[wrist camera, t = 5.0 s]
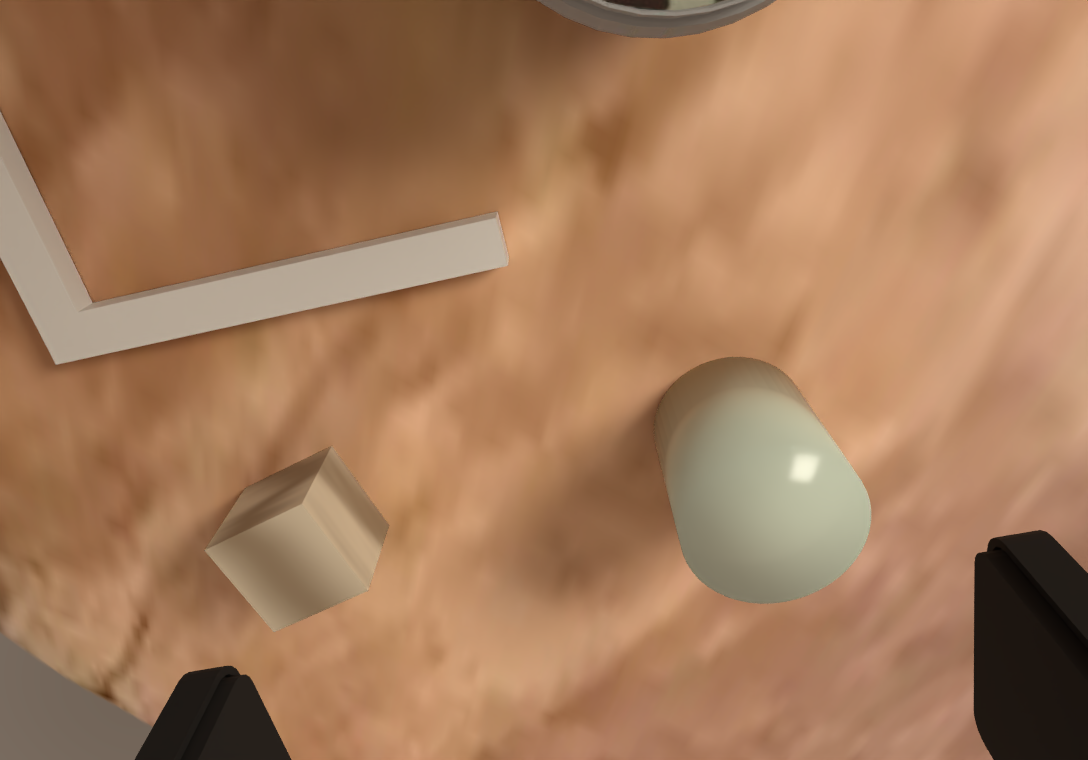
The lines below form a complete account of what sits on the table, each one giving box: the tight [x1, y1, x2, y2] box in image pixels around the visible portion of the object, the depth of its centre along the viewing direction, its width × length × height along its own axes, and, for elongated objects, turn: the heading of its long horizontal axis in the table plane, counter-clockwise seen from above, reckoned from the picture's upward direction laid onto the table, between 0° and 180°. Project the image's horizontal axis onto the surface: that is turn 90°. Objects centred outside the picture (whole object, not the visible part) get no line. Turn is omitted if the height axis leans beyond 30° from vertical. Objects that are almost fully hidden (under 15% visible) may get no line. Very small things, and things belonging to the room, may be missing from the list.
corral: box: [0, 112, 509, 365], centre depth 29 cm, size 20×24×1 cm
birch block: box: [204, 446, 389, 632], centre depth 36 cm, size 5×5×5 cm
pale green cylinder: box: [654, 357, 871, 604], centre depth 33 cm, size 7×7×8 cm
